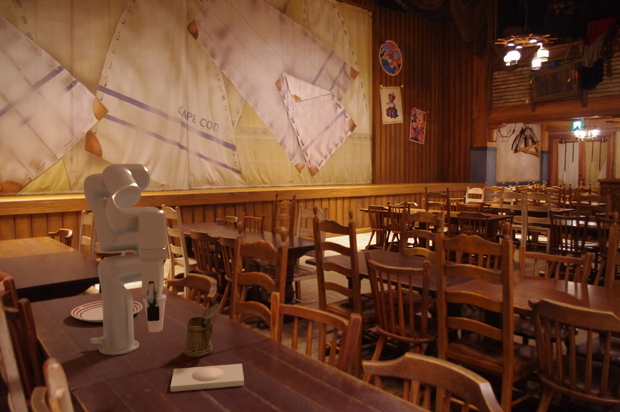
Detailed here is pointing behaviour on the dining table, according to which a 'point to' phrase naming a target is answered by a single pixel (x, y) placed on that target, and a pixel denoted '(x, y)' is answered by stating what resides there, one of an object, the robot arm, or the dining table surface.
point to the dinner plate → (96, 311)
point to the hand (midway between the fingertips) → (155, 316)
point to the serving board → (207, 377)
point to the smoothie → (158, 325)
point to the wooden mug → (200, 333)
